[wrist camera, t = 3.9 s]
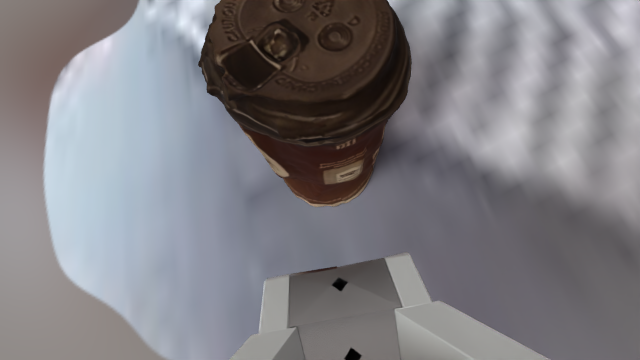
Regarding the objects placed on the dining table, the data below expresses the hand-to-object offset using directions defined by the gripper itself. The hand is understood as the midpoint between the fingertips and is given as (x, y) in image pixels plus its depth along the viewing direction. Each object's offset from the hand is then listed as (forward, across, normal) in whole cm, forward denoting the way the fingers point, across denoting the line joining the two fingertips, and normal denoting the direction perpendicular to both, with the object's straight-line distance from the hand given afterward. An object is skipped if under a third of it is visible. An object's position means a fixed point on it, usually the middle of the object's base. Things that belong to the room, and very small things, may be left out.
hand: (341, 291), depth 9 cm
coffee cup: (+19, 0, +4) cm, 19 cm away
